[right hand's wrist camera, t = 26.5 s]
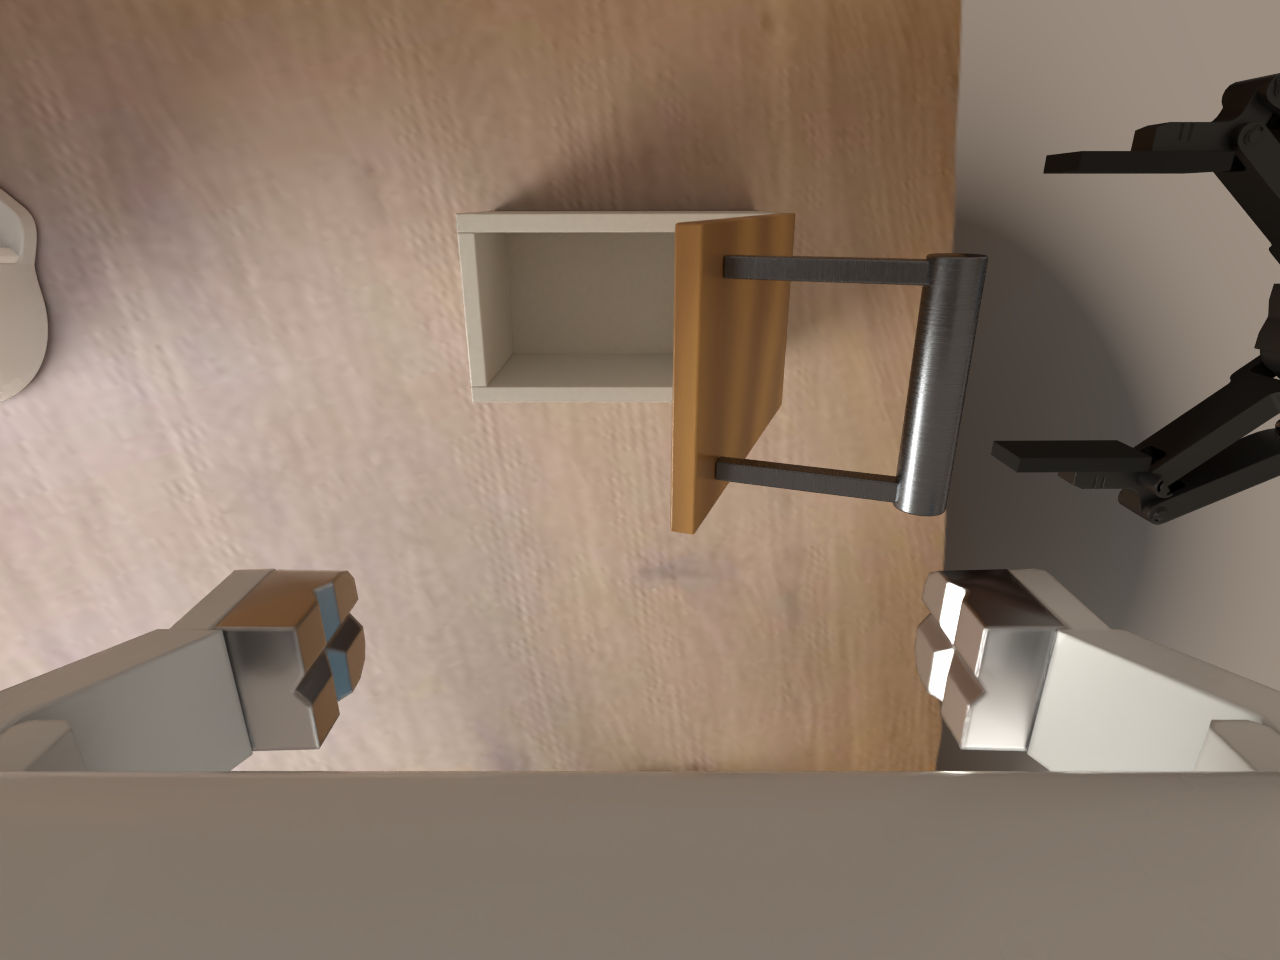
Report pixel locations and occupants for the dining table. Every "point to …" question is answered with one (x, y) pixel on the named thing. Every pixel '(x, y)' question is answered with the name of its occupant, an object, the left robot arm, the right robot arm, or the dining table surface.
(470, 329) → the chest
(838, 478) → the lid
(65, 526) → the dining table surface
